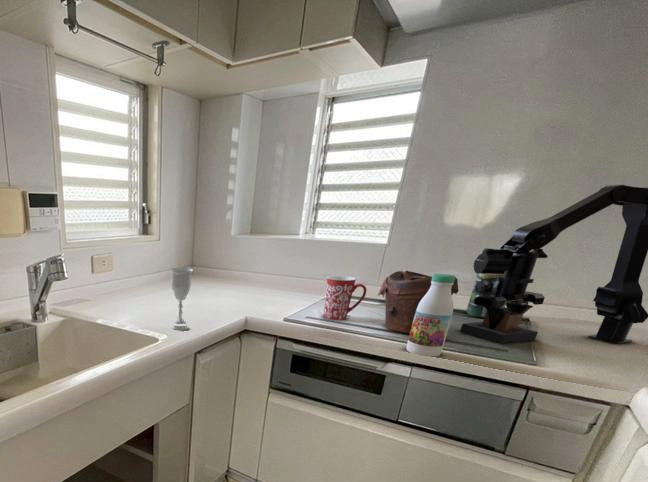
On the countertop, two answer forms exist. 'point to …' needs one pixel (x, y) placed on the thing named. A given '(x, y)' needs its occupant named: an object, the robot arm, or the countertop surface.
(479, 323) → the dark square frame
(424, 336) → the milk bottle
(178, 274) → the chalice
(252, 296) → the countertop surface
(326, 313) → the mug
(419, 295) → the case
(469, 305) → the coffee jar
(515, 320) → the walnut block
